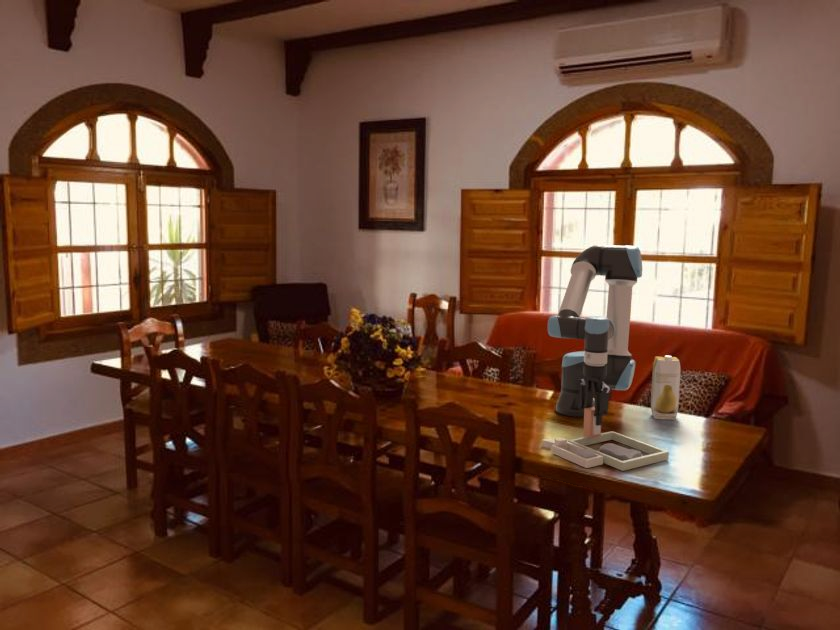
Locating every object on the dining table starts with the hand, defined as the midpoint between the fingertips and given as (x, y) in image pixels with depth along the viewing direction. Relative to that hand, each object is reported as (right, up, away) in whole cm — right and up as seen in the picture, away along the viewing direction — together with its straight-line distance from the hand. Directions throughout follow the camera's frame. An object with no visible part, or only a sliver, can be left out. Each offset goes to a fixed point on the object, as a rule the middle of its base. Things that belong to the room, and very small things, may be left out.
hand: (592, 432), depth 241 cm
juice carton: (+35, 0, +32) cm, 47 cm away
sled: (-8, -6, -14) cm, 17 cm away
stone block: (+6, -7, -13) cm, 15 cm away
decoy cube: (-6, -7, -17) cm, 20 cm away
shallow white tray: (+6, -6, -9) cm, 12 cm away
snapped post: (-14, -5, -3) cm, 15 cm away
